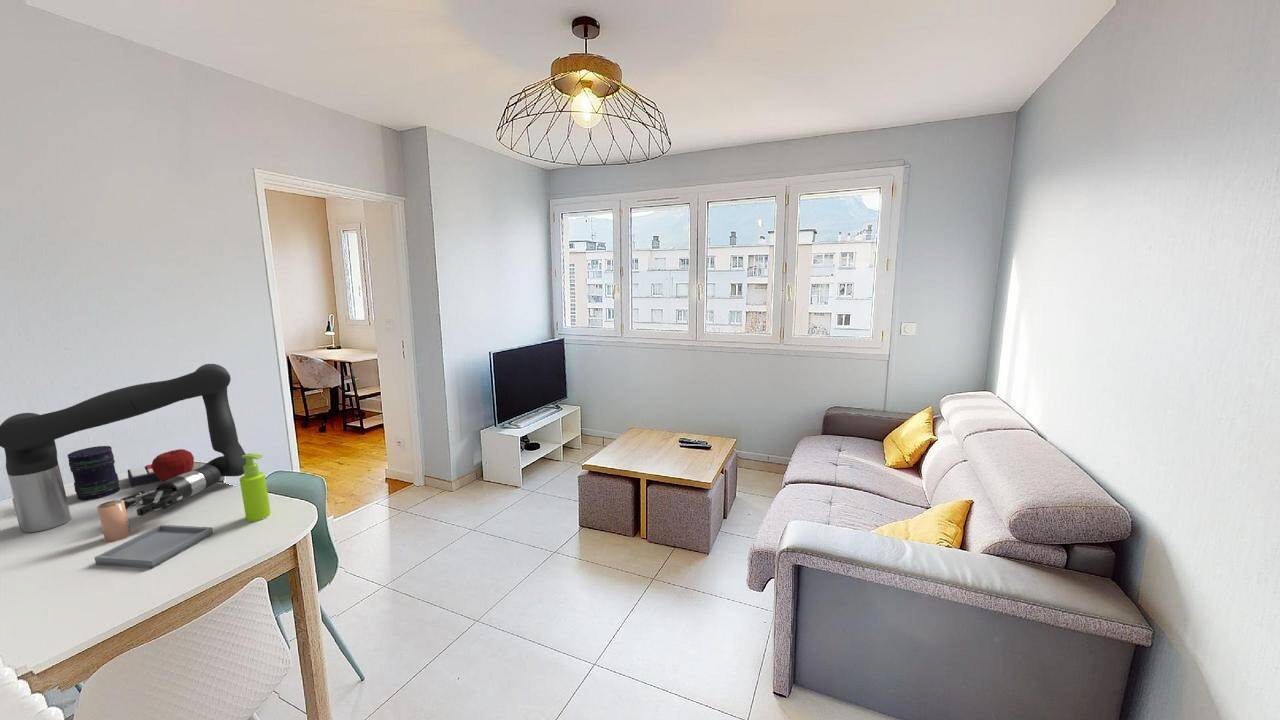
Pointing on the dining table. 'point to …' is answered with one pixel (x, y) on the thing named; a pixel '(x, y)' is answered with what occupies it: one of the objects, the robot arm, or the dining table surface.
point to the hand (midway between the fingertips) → (124, 512)
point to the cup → (114, 520)
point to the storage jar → (94, 472)
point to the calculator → (142, 476)
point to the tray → (154, 546)
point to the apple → (172, 464)
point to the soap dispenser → (254, 490)
